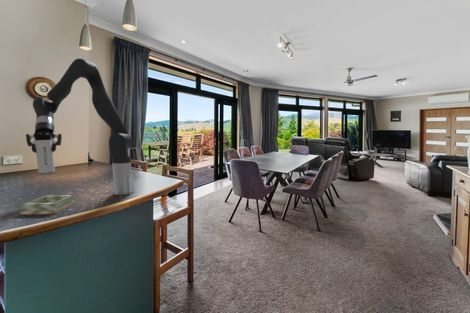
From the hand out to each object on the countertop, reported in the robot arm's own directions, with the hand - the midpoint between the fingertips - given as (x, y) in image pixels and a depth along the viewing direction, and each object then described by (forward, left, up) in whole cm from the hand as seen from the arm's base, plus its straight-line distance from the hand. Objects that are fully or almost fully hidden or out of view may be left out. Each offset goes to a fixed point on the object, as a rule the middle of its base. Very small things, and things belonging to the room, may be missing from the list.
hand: (44, 151), depth 109 cm
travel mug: (+1, -1, -12) cm, 12 cm away
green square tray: (-8, +11, -25) cm, 28 cm away
